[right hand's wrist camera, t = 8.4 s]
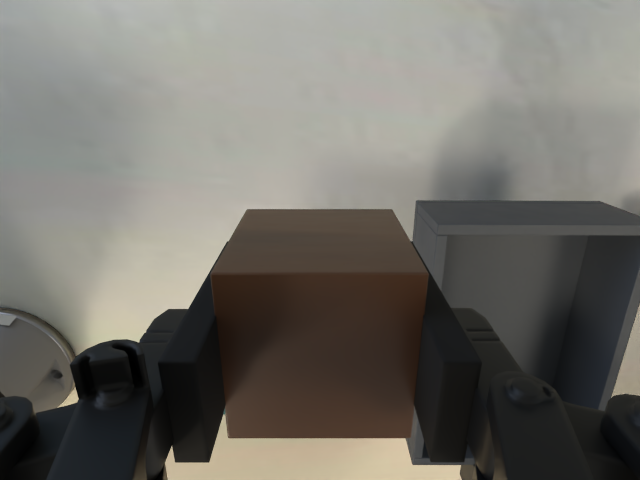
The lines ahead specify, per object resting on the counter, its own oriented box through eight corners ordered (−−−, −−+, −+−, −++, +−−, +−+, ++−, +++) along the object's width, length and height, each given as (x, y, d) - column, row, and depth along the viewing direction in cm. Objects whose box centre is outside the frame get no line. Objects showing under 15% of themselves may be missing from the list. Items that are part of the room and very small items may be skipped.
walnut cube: (384, 332, 16) (411, 438, 11) (254, 333, 16) (227, 439, 11) (392, 208, 14) (429, 273, 9) (246, 208, 14) (209, 273, 9)
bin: (542, 436, 43) (593, 514, 35) (395, 436, 43) (413, 514, 35) (599, 200, 34) (684, 232, 26) (415, 200, 34) (445, 232, 26)
